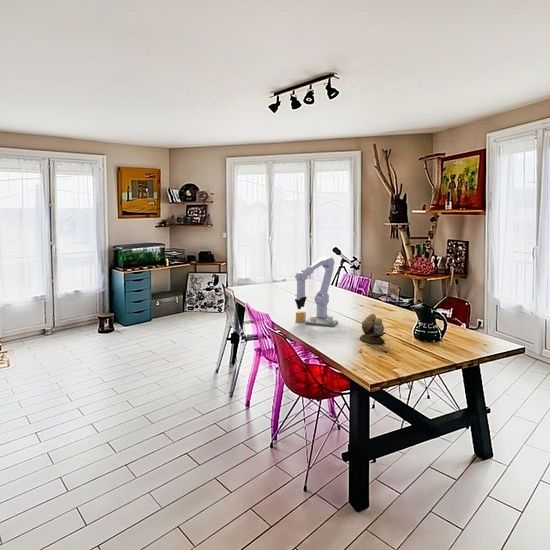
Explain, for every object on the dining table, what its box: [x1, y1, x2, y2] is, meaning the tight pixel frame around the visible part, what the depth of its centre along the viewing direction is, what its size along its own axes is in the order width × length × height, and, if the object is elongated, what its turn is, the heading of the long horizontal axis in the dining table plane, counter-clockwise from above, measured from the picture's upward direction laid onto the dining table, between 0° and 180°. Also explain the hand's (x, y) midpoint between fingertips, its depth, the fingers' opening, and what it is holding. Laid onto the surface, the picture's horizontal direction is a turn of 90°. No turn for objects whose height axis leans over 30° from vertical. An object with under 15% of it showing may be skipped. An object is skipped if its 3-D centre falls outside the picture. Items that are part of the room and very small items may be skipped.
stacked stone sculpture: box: [359, 313, 386, 345], centre depth 260 cm, size 18×12×17 cm, turn 34°
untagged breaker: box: [327, 315, 334, 323], centre depth 299 cm, size 3×3×4 cm
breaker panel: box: [304, 317, 339, 328], centre depth 301 cm, size 12×20×2 cm, turn 70°
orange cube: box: [295, 310, 307, 323], centre depth 309 cm, size 6×6×6 cm
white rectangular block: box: [310, 315, 317, 321], centre depth 303 cm, size 3×3×4 cm
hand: (300, 308), depth 308 cm, fingers open, 7 cm apart
